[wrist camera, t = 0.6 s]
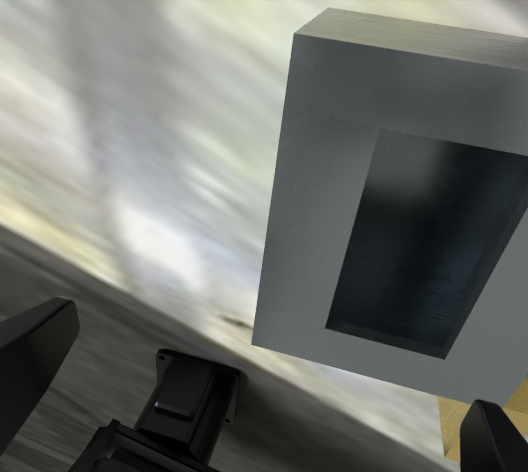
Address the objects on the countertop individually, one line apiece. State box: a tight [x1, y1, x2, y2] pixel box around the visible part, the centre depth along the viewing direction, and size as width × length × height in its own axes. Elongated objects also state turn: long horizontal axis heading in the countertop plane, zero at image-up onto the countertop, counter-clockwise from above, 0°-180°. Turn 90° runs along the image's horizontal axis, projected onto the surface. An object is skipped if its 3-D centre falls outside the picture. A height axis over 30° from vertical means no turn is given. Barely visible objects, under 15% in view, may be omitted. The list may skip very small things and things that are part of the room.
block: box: [438, 377, 528, 462], centre depth 23 cm, size 5×2×5 cm, turn 173°
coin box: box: [251, 8, 528, 408], centre depth 17 cm, size 12×10×7 cm
